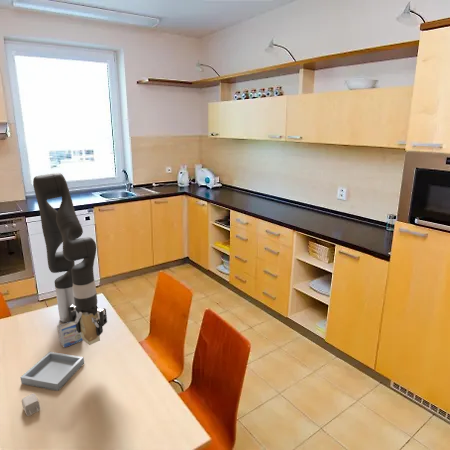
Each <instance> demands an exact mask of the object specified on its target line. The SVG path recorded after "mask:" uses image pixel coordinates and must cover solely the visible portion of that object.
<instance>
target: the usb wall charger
mask: <svg viewBox="0 0 450 450" xmlns="http://www.w3.org/2000/svg"><path fill="white" fill-rule="evenodd" d="M21 405H22V408H23V410H24V412H25V414H26V416H27V417H29V416H32V415H33V414H35V413H39V411H40V410H41V407H40V401H39V399H38V397H37V395H36V394H35V393H31V394H29V395H26V396H24V397H23V398H21Z"/></svg>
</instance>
